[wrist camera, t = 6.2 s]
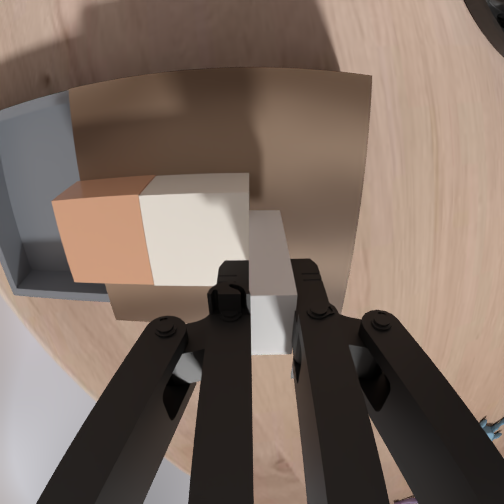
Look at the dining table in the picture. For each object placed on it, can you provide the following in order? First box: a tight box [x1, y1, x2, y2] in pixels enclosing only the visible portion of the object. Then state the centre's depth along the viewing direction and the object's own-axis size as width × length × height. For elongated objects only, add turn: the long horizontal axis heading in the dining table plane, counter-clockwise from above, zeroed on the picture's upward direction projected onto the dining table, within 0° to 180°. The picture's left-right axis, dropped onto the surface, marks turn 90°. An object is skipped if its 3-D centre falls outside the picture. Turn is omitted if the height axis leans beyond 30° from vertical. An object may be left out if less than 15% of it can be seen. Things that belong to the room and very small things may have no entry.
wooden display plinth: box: [69, 67, 372, 323], centre depth 20 cm, size 16×16×6 cm
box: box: [0, 90, 110, 302], centre depth 21 cm, size 16×12×4 cm
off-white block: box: [139, 173, 250, 286], centre depth 17 cm, size 5×5×3 cm
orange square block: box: [51, 175, 156, 285], centre depth 17 cm, size 5×5×3 cm
